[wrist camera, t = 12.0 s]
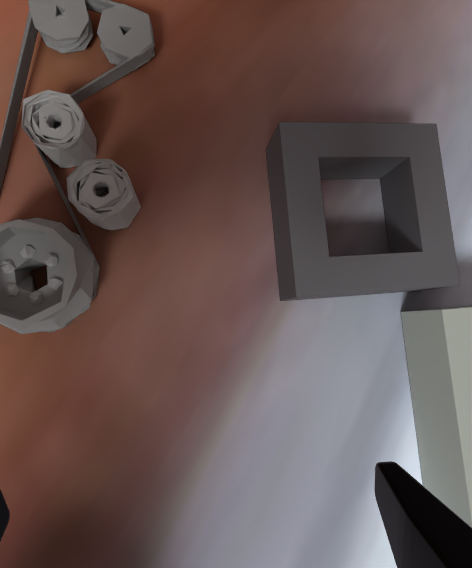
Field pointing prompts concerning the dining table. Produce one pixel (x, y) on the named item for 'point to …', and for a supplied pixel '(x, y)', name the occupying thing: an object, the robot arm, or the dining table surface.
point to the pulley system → (67, 165)
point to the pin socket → (396, 200)
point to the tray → (442, 401)
